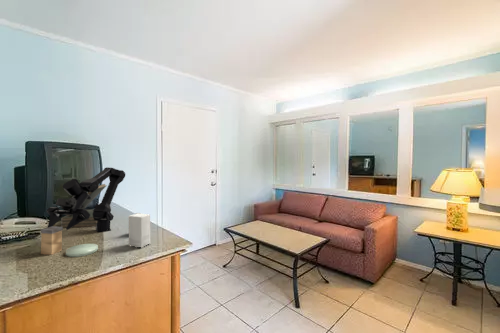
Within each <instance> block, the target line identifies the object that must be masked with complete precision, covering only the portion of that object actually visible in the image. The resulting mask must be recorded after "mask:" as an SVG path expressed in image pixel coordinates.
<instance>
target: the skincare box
mask: <svg viewBox="0 0 500 333" xmlns="http://www.w3.org/2000/svg"><path fill="white" fill-rule="evenodd" d="M136 213H137V214H136ZM136 213H134V214H131V215H128V246H129V245H131V246H136V247H135V248H137V247H143V246H145V245H147V244H149V243H150V244H151V214H149V213H147V214H146V213H141V214H140V212H136ZM150 244H149V245H150ZM131 246H130V247H131ZM147 246H148V245H147ZM145 247H146V246H145ZM143 248H144V247H143Z"/></svg>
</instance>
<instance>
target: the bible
mask: <svg viewBox="0 0 500 333" xmlns="http://www.w3.org/2000/svg"><path fill="white" fill-rule="evenodd" d="M106 187H107V185H106V184H105V183H103V184H99V187H98V188H97V190H96V191H95V192H87V193H88V194H90V197H91V199H86V201H85V202H84V204H83V206H84V207H83V208H80V209H86V208H87V207H88V206H89V204H91V203H92V202H93V200H95V199H96V197H97V196H98V195H100V193H101V192H102V191H103V190H104V189H105V188H106ZM86 210H87V211H88V212H89V213H90V217H89V218H88V220H87V219H85V221H82V222H80V223H78V224H76V225H75V226H73V227H72V228H81V227H82V228H83V227H84V228H85V227H96V223H97V221H94V218H93V210H94V209H86ZM72 218H73V215H63V216H62V217H60V227H63V228H66V227H67V225H68V224H69V222H70V221H71V219H72Z"/></svg>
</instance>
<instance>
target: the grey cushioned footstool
mask: <svg viewBox="0 0 500 333" xmlns="http://www.w3.org/2000/svg"><path fill="white" fill-rule="evenodd" d="M47 227H48V226H47ZM47 227H46V228H45V227H44V228H41V229H40V234H41V236H40V237H41V242H40V244H41V245H40V246H41V247H40V249H41V250H40V255H49V256H52V255H55V254H57V253H59V252H61V251H62V249H63V248H62V246H63V245H62V244H63V242H62V241H63V231H64V227H61V226H56V225H53V226H51V227H48V228H47Z"/></svg>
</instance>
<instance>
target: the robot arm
mask: <svg viewBox="0 0 500 333" xmlns="http://www.w3.org/2000/svg"><path fill="white" fill-rule="evenodd" d="M125 177H126V172H125V171H124V170H122V169H121V170H120V169H118V168H114V167H108V166H107V167H104V168H103V170H101V171H100V172H98V173H97V174H95V175H94V176H92V178H88V179H84V180H83V181H81V182H79V181H78V179H77V178H72V179H71V180H68V181H67V182H64V183H63V185H62V188H63V189H64V191H65V192H66V193H67V194H69V196H72V197H70V198H63V197H61V198H59V197H58V198H57V200H56V203H55V206H58V207H53V206H50V207H48V208H47V209H46V213H47V214H48V215H49V220H48V224H47V227H46V228H48V227H51V226H55V225H56V223H58V222H59V221H61V218H62V217H64V216H67V215H73V218H72V219H71V221H70V222H69V224H68V225H67V227H65V228H66V230H70V229H72V228H74V227H73V226H75V225H76V224H78V223H80V222H82V221H85V219H87V220H88V218H89V217H90V213H89V212H88V211H87V210H88V209H86V208H85V209H80V208H83V207H84V206H83V204H84V202H85V201H86V199H91V197H90V194H88V192H95V191H96V190H97V188H98V187H99V185H101V183H103V182H104V181H106V179H109V183H108V185H107V186H106V187H107V188H106V190H105V192H104V195H103V197H102V199H101V202H100V203H99V204H95V206H94V208H93V209H92V210H93V218H94V221H97V223H96V226H95V231H96V232H98V233H103V232H109V231H112V229H111V222H112V221H113V220H114V215H113V214H112V213H111V211H112V207H111V204H112V201H113V199H114V196H115V193H116V192H117V189H118V186H119V184H120V183H121V182H123V181H124V179H125ZM59 206H60V208H61V209H60V208H59Z"/></svg>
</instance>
